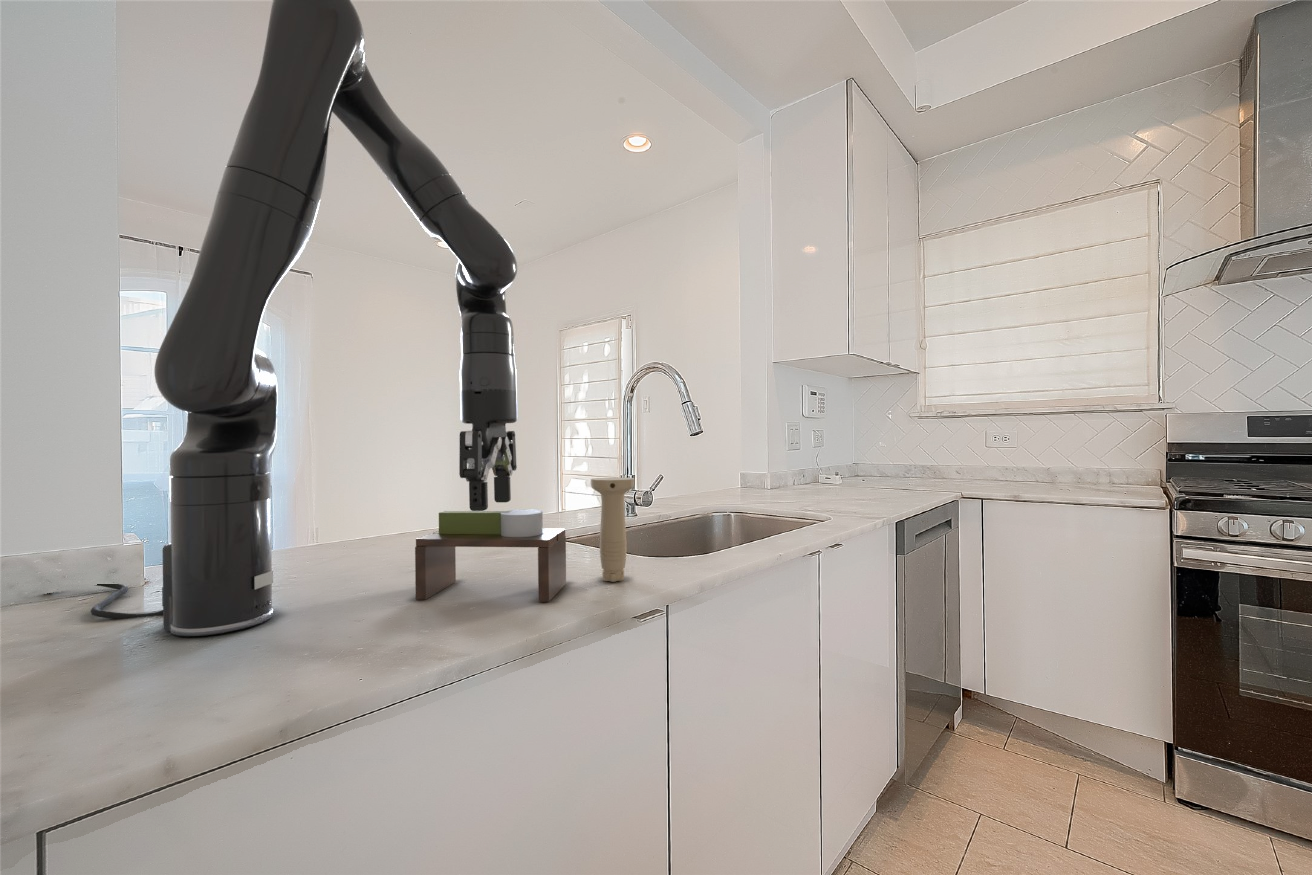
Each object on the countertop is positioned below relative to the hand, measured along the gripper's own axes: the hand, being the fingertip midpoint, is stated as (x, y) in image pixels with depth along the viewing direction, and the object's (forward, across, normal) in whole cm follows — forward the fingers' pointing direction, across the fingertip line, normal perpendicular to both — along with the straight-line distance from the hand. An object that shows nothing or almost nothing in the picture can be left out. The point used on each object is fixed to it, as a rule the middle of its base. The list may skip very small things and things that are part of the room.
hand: (491, 506), depth 77 cm
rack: (+12, 0, 0) cm, 12 cm away
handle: (+12, -7, +16) cm, 21 cm away
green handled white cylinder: (+4, 0, 0) cm, 4 cm away
